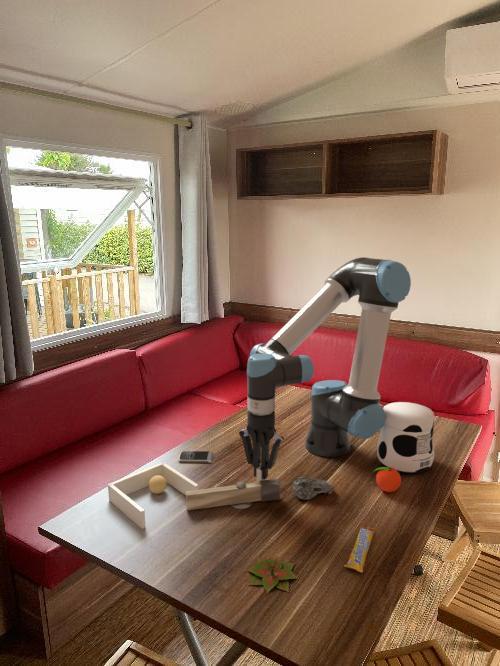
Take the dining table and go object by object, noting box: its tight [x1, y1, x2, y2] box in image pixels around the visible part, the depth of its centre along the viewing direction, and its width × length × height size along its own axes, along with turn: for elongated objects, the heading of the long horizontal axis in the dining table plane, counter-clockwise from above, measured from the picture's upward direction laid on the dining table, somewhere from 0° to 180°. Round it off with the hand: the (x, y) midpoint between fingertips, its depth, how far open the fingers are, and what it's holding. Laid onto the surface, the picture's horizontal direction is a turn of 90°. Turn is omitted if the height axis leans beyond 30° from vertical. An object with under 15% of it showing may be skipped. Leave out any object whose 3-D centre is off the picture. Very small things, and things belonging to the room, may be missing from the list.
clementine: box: [373, 466, 402, 493], centre depth 140 cm, size 8×7×7 cm
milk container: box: [376, 401, 435, 474], centre depth 153 cm, size 17×17×18 cm
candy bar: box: [343, 525, 376, 573], centre depth 116 cm, size 17×4×2 cm, turn 156°
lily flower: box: [246, 554, 299, 594], centre depth 108 cm, size 12×12×5 cm
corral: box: [107, 461, 199, 530], centre depth 136 cm, size 18×18×5 cm
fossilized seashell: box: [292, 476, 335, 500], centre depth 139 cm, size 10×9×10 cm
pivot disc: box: [230, 502, 253, 510], centre depth 135 cm, size 6×6×1 cm
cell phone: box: [178, 450, 214, 464], centre depth 160 cm, size 6×11×1 cm, turn 89°
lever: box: [185, 478, 281, 511], centre depth 134 cm, size 3×26×5 cm, turn 103°
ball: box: [148, 475, 168, 494], centre depth 140 cm, size 5×5×5 cm
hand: (260, 487), depth 139 cm, fingers closed
